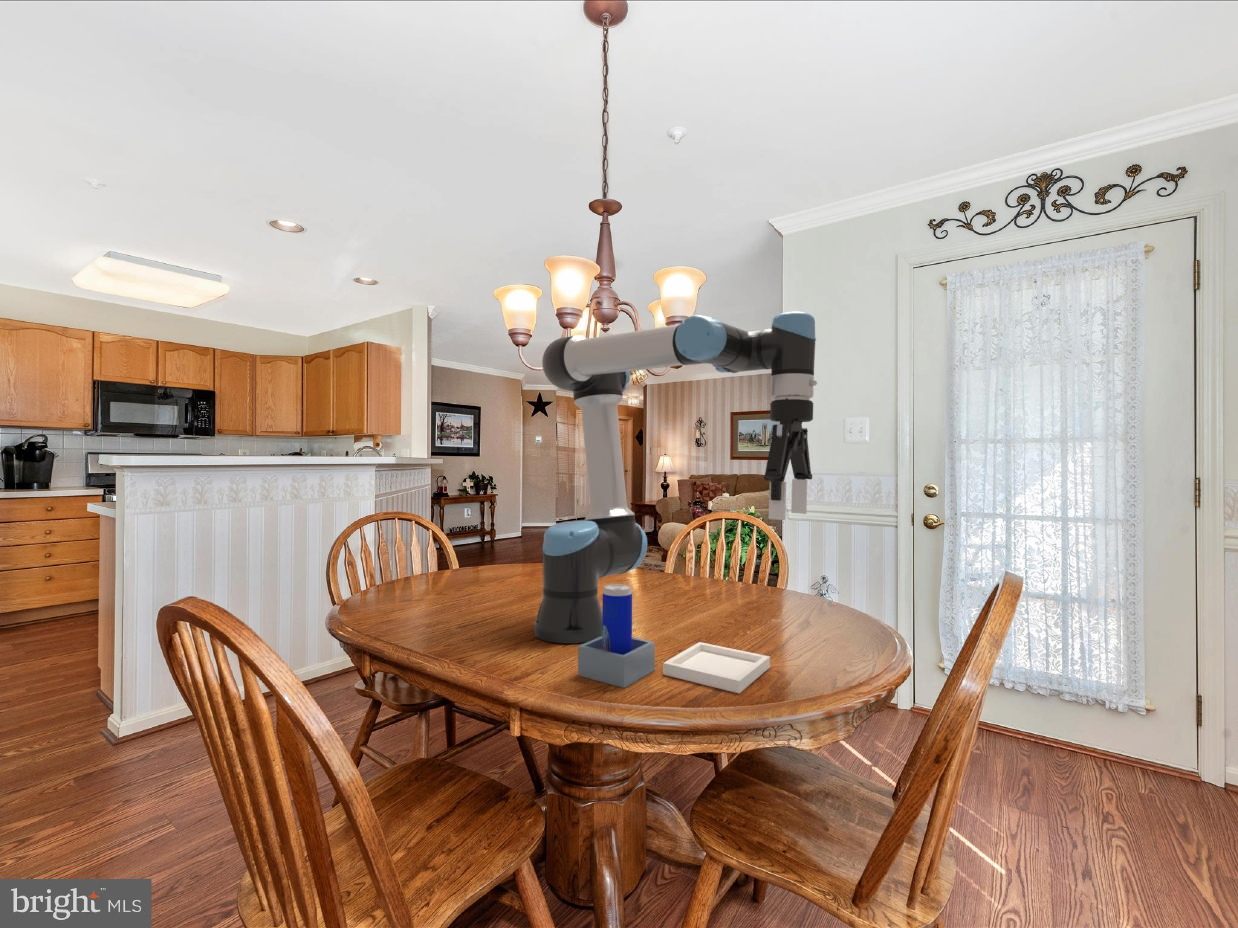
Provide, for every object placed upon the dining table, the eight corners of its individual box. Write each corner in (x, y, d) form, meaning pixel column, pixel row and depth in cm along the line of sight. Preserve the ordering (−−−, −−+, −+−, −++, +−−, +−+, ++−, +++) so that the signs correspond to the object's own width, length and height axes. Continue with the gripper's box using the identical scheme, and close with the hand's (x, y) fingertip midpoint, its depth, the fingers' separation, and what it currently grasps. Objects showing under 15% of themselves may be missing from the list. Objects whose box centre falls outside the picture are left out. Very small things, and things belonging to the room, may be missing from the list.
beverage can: (601, 667, 103) (601, 583, 102) (629, 666, 103) (630, 583, 103) (602, 678, 97) (603, 590, 97) (633, 677, 98) (633, 590, 98)
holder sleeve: (577, 675, 99) (578, 646, 99) (610, 659, 107) (610, 632, 107) (624, 687, 94) (624, 657, 94) (654, 670, 101) (654, 642, 101)
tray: (663, 674, 100) (663, 662, 100) (699, 652, 111) (699, 641, 111) (739, 693, 92) (739, 680, 92) (769, 667, 103) (769, 656, 103)
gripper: (792, 392, 92) (788, 524, 93) (829, 404, 113) (826, 512, 114) (747, 394, 96) (744, 520, 97) (791, 405, 117) (788, 509, 118)
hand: (788, 516), depth 105 cm, fingers open, 13 cm apart
